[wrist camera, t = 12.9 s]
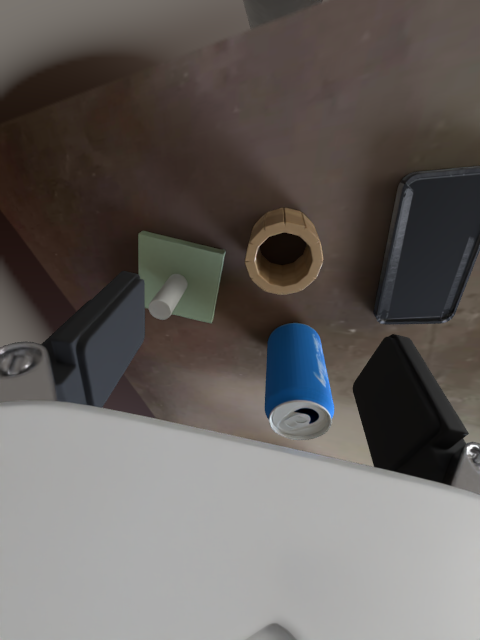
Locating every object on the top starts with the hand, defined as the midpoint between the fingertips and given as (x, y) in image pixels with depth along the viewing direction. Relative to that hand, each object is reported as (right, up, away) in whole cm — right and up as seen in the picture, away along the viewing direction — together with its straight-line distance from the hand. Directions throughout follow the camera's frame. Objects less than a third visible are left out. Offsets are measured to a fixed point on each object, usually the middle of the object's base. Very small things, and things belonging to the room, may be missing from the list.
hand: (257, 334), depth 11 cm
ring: (+4, +9, +17) cm, 20 cm away
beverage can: (+6, -2, +24) cm, 25 cm away
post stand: (-7, +5, +21) cm, 23 cm away
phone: (+18, +7, +16) cm, 25 cm away
